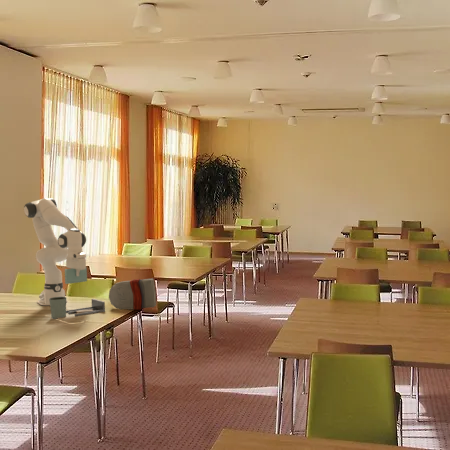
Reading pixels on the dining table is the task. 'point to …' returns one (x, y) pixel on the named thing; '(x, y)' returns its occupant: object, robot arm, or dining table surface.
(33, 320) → the dining table surface
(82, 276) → the teal sheet
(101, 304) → the offcut rack
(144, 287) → the decorative stone tablet
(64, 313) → the grey-green bin
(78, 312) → the offcut walnut
